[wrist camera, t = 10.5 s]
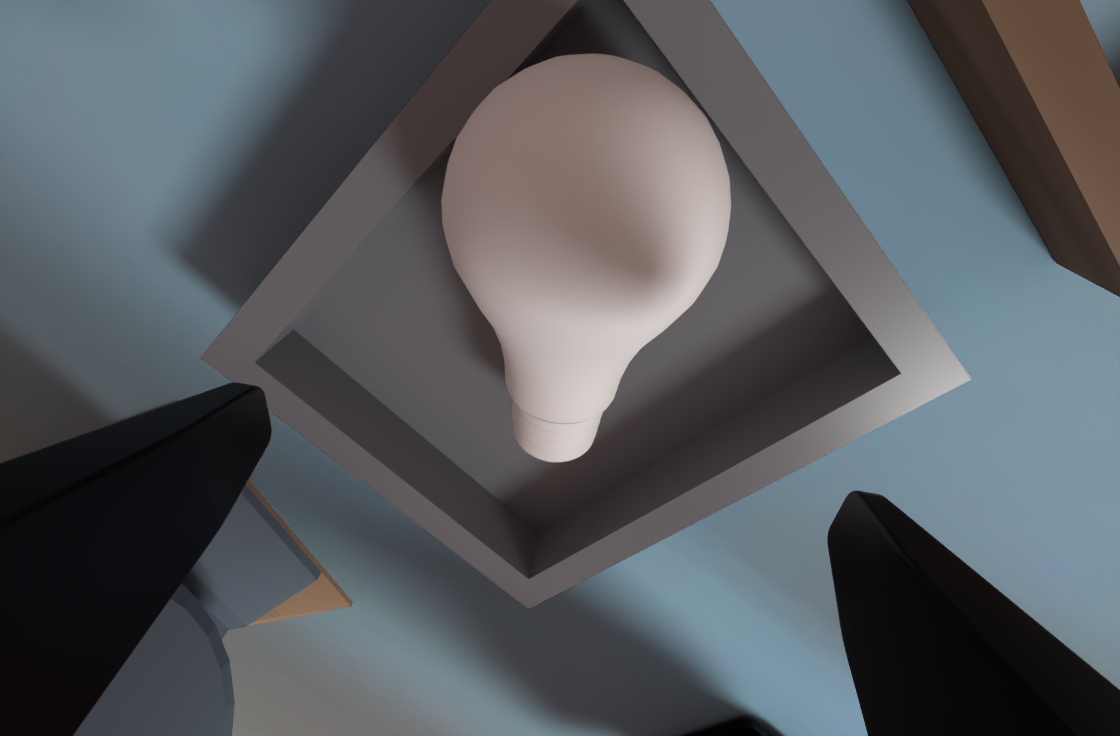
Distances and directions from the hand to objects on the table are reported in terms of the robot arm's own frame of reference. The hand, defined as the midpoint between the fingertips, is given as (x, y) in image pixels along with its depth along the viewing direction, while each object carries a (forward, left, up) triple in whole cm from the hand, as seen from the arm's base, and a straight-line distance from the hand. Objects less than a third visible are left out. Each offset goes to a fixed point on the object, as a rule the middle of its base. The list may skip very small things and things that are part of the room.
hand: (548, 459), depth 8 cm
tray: (-2, -1, -10) cm, 10 cm away
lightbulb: (-5, -4, -7) cm, 9 cm away
